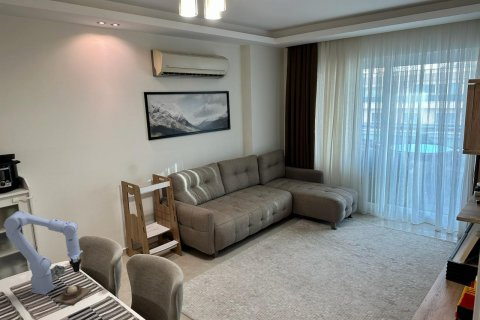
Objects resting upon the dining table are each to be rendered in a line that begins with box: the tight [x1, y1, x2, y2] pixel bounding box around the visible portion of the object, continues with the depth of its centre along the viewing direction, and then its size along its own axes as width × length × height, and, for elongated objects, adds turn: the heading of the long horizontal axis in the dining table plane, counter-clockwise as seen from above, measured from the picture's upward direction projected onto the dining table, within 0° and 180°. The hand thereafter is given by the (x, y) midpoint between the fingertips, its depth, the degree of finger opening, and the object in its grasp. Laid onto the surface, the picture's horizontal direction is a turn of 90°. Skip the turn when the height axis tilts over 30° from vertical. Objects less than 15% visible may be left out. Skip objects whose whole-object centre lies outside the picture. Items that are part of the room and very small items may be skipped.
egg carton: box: [50, 264, 67, 281], centre depth 182 cm, size 11×8×4 cm
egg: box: [67, 285, 77, 294], centre depth 161 cm, size 5×5×5 cm
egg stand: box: [53, 284, 92, 306], centre depth 161 cm, size 12×12×4 cm
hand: (76, 268), depth 170 cm, fingers open, 7 cm apart
